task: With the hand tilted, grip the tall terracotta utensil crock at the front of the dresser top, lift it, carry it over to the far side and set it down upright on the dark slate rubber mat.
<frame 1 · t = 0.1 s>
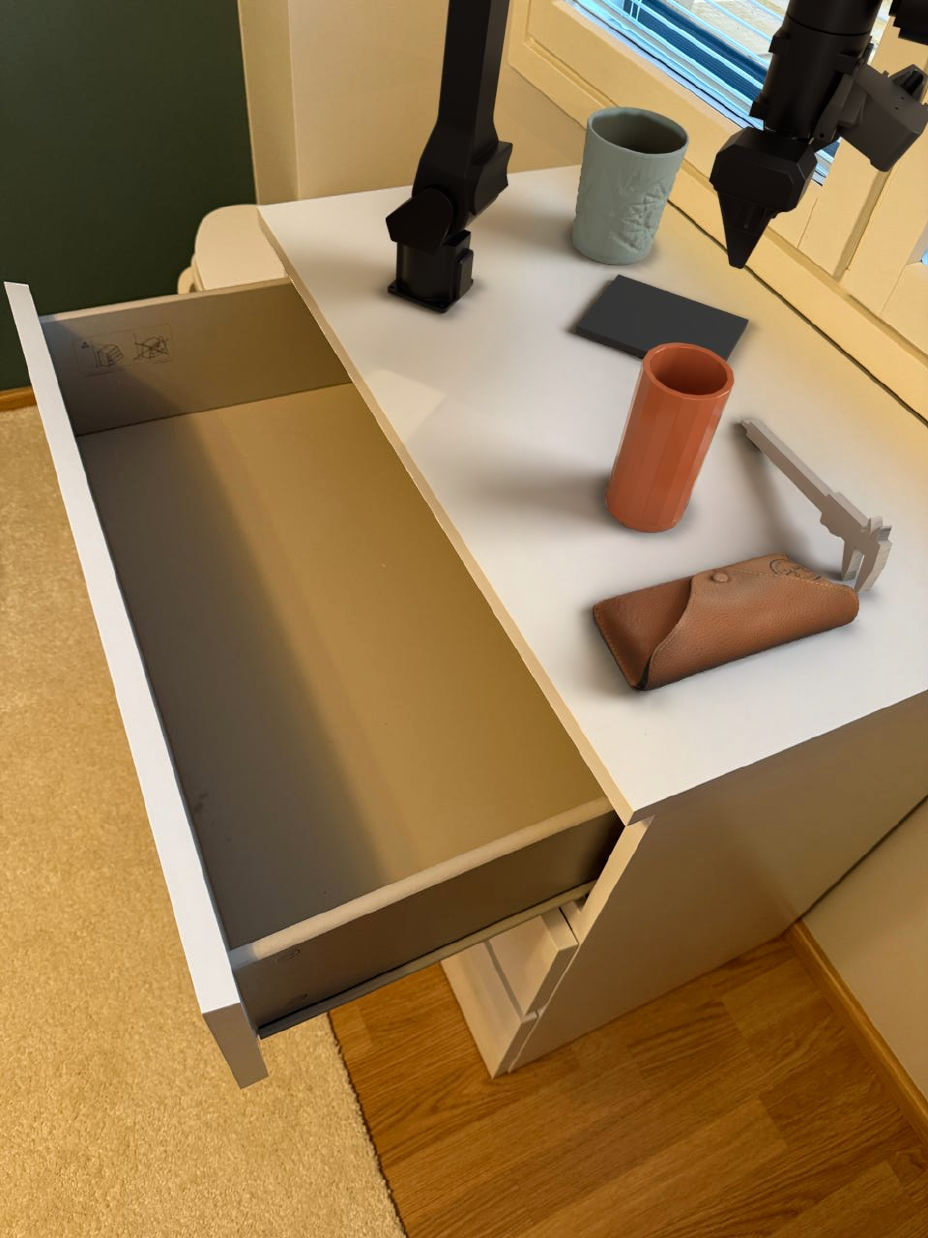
hand: (753, 240, 73), 15 cm above the dresser top, tool pointing down, fingers open, 9 cm apart
caliper: (796, 505, 76), on the dresser top
crock: (644, 503, 75), on the dresser top
sunglasses case: (716, 624, 68), on the dresser top
green ceramic pot: (612, 245, 100), on the dresser top
mat: (662, 329, 90), on the dresser top
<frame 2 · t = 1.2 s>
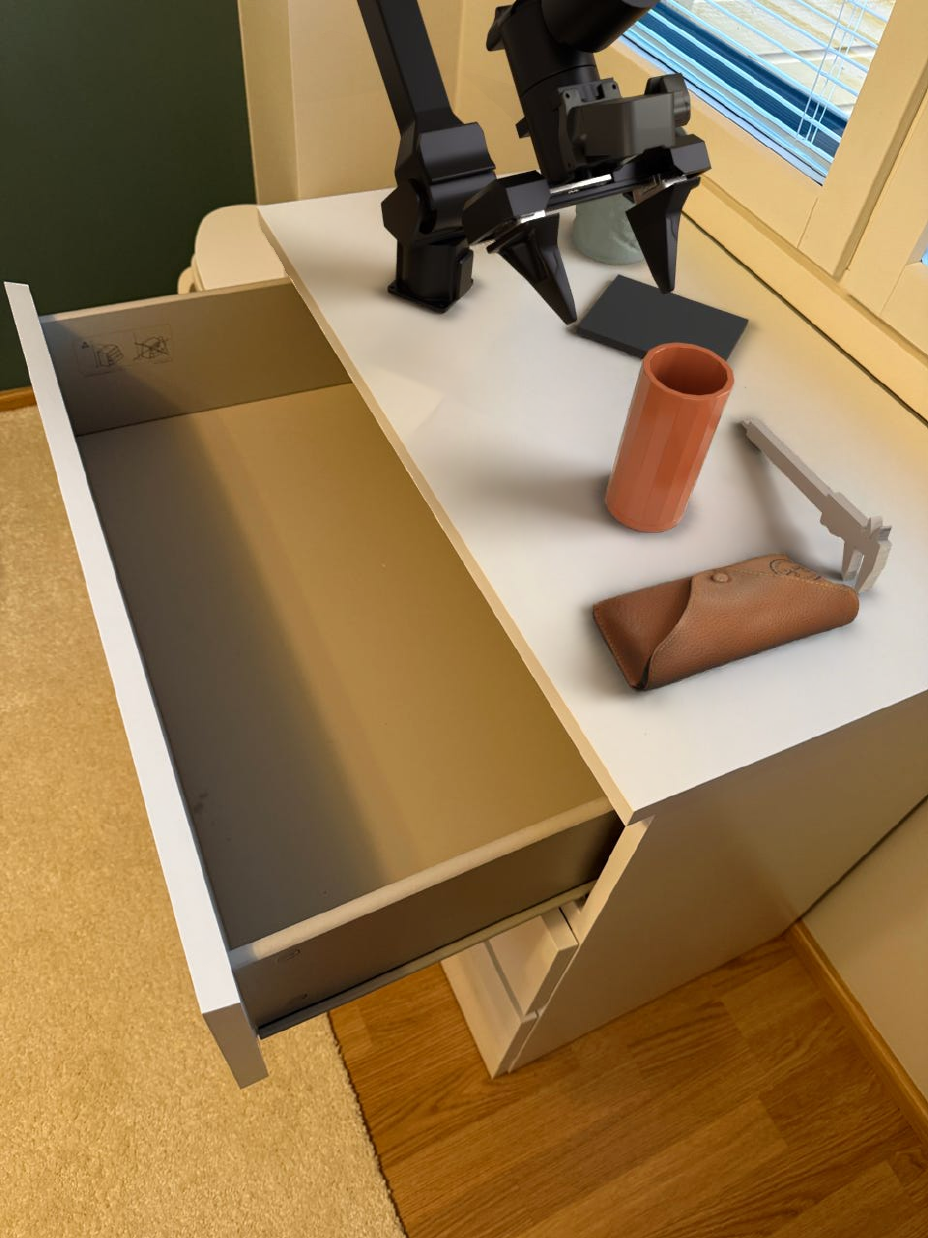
hand: (621, 307, 68), 13 cm above the dresser top, tool tilted 45°, fingers open, 9 cm apart
nothing on the dresser top moved.
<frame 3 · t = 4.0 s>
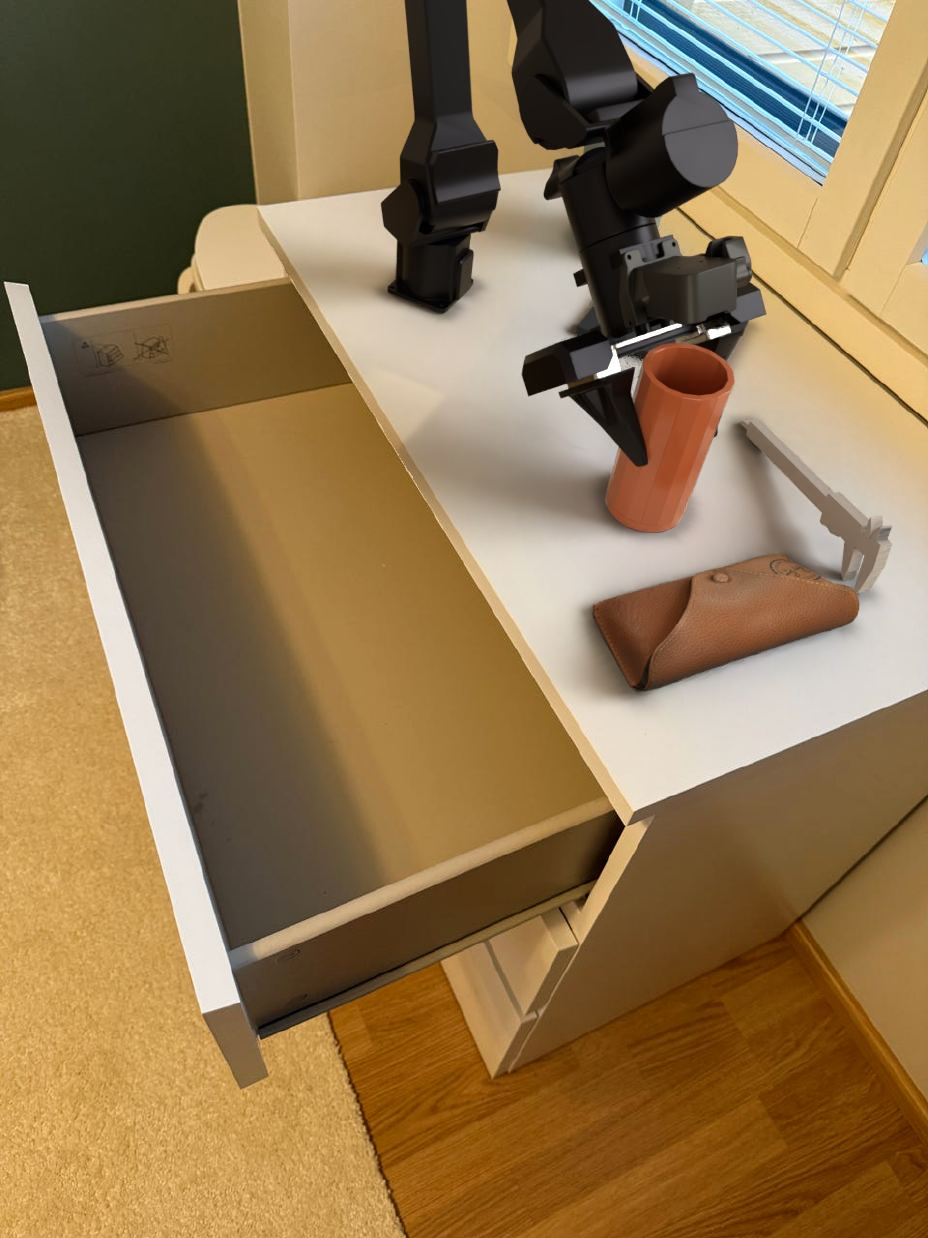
hand: (677, 451, 69), 7 cm above the dresser top, tool tilted 45°, fingers closed on crock, 6 cm apart
crock: (644, 503, 75), on the dresser top, touching gripper
everything else where it was.
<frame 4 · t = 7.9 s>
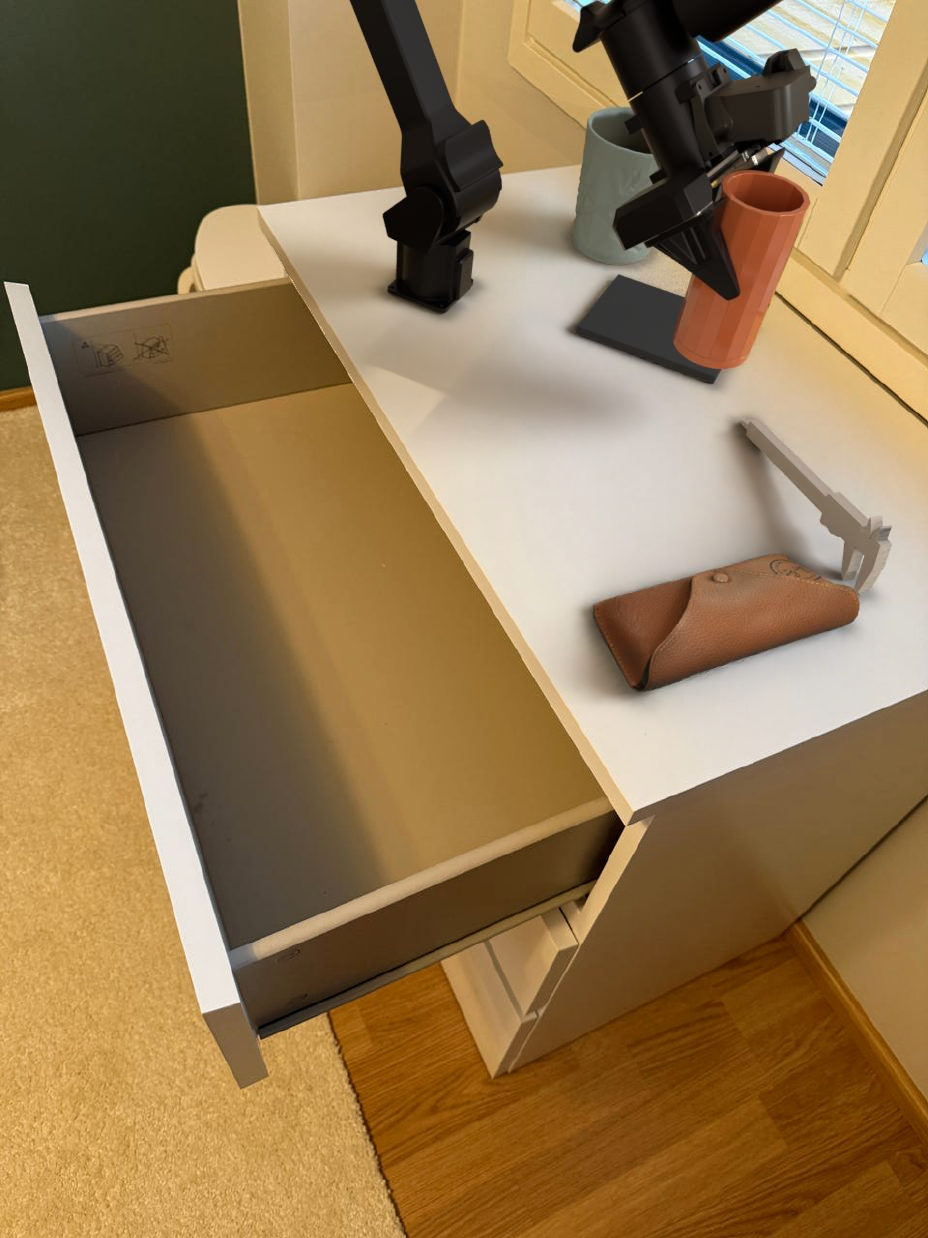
hand: (752, 279, 71), 14 cm above the dresser top, tool tilted 45°, fingers closed on crock, 6 cm apart
crock: (710, 345, 77), point 7 cm above the dresser top, touching gripper
everything else where it was.
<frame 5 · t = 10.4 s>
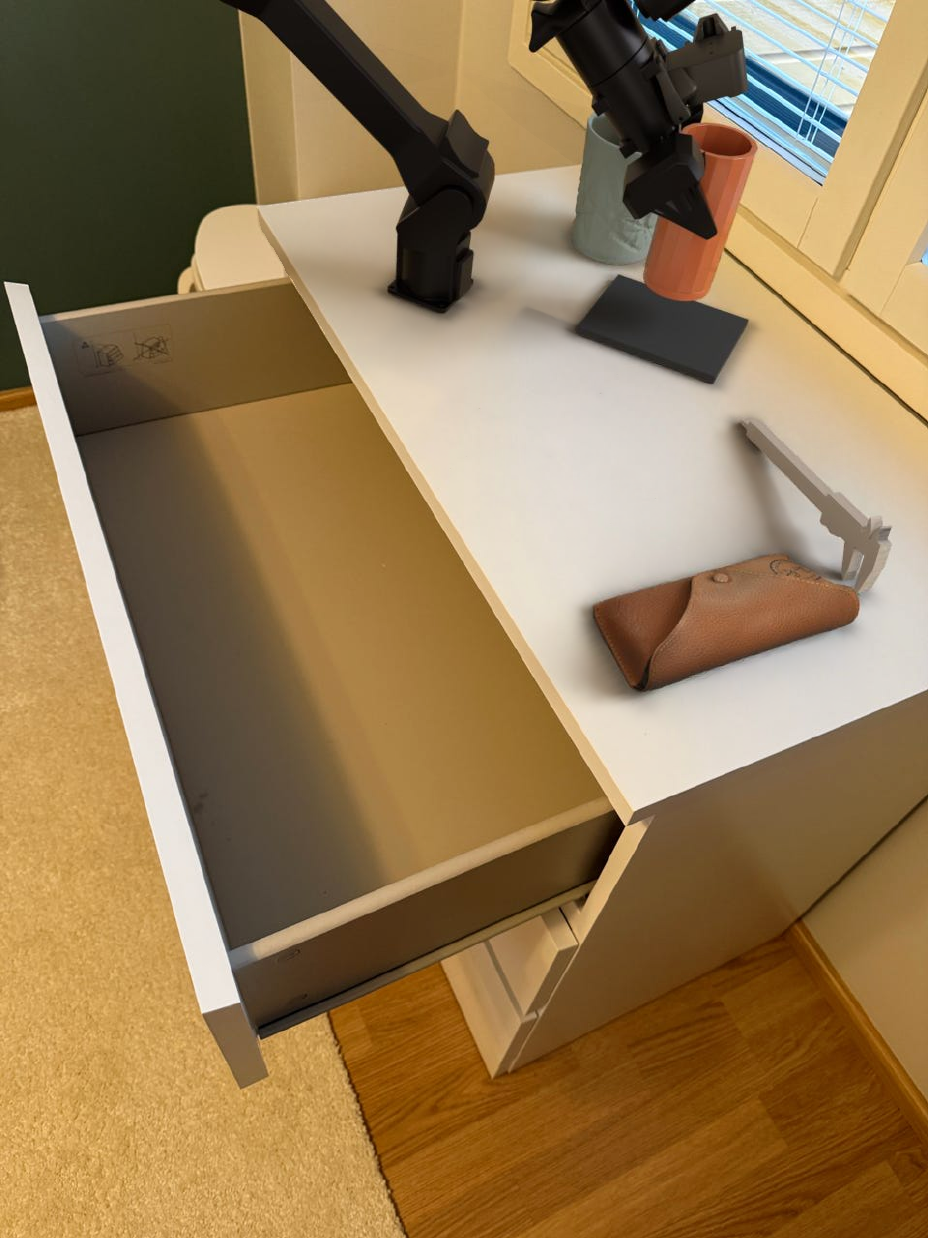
hand: (711, 216, 82), 11 cm above the dresser top, tool tilted 45°, fingers closed on crock, 6 cm apart
crock: (676, 281, 87), point 5 cm above the dresser top, touching gripper
everything else where it was.
when the fingers open (7 cm above the dresser top, at t = 12.1 s): crock stays where it is, resting on mat.
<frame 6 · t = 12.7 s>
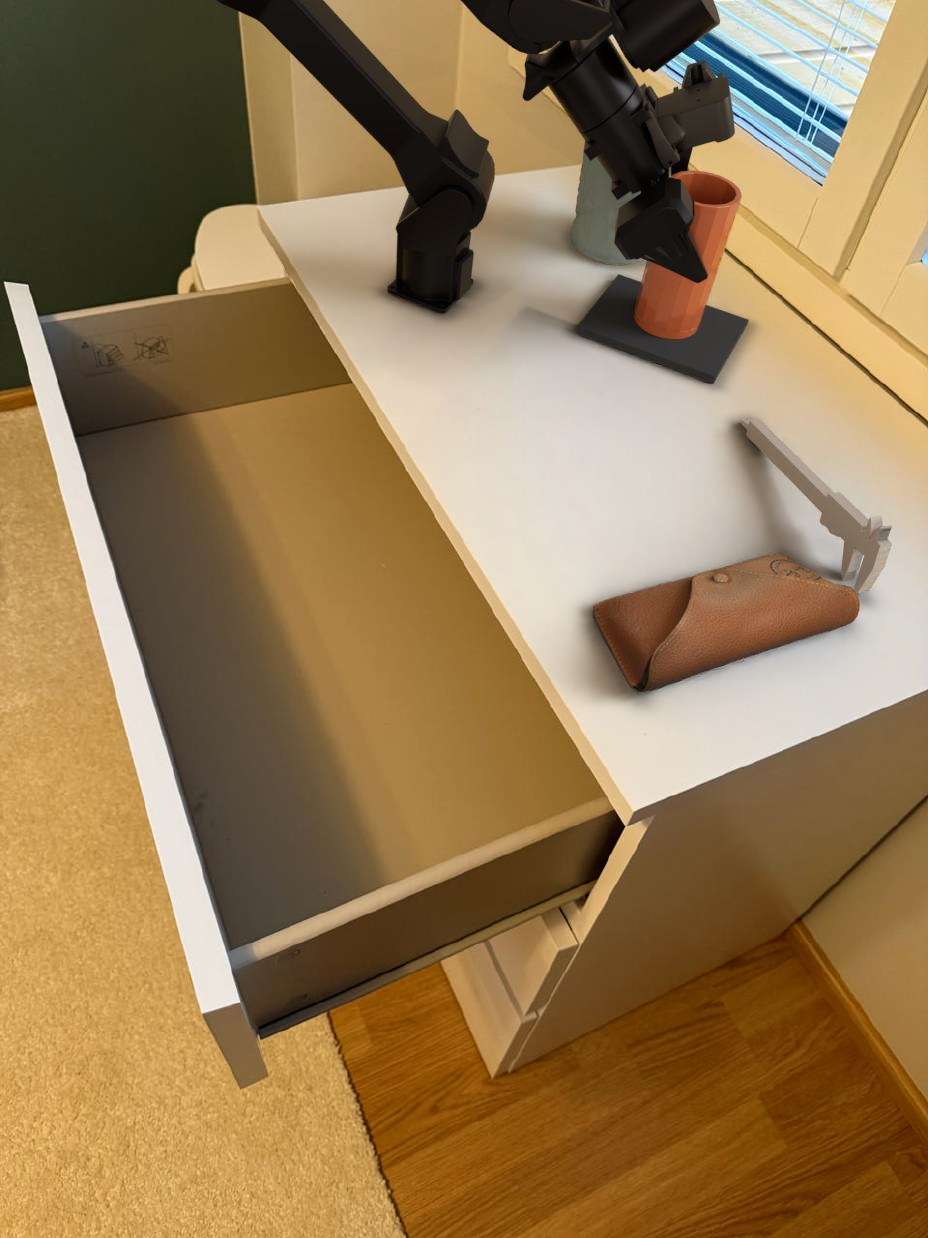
hand: (702, 252, 84), 8 cm above the dresser top, tool tilted 45°, fingers open, 9 cm apart
crock: (666, 319, 90), point 1 cm above the dresser top, touching mat
everything else where it was.
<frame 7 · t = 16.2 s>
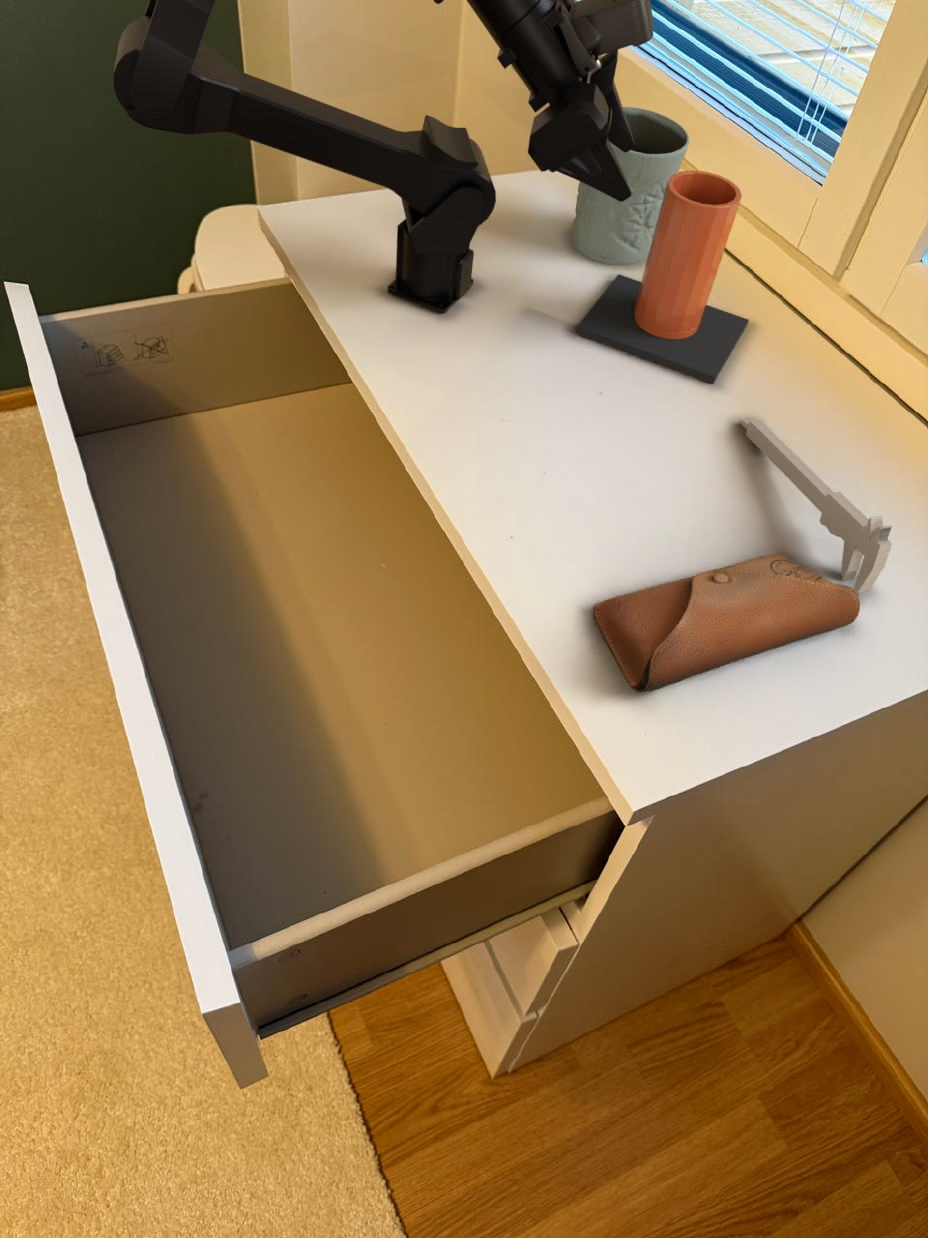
hand: (628, 172, 81), 14 cm above the dresser top, tool tilted 45°, fingers open, 9 cm apart
nothing on the dresser top moved.
at the end: crock inside the target area on the mat (0.5 cm from its centre), point 0.8 cm above the mat's base; crock tilted 0°; the gripper is holding nothing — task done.
